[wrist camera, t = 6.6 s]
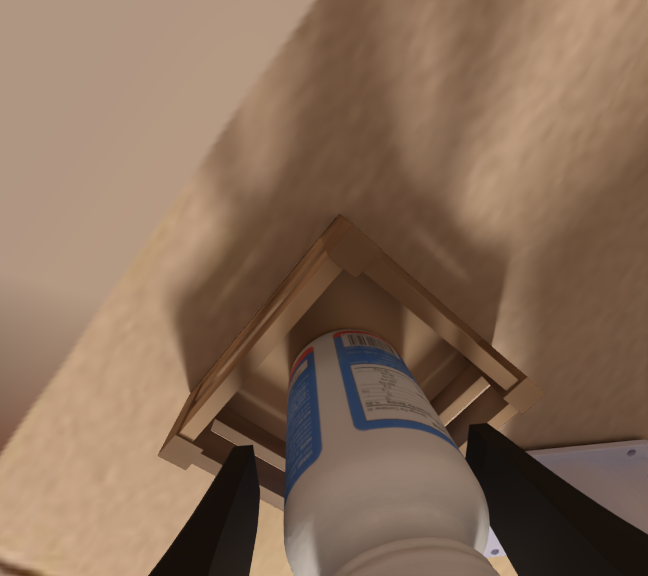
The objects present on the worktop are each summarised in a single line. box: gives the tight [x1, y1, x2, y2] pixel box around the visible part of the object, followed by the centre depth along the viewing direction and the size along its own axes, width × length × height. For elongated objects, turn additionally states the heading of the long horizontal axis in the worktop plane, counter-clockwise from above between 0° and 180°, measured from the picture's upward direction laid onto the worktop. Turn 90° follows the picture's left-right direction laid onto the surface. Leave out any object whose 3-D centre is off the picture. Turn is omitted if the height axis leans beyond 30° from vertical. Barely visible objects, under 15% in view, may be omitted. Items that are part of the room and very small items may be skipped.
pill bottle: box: [284, 329, 500, 576], centre depth 10 cm, size 6×5×10 cm
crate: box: [158, 214, 546, 511], centre depth 14 cm, size 11×10×4 cm
